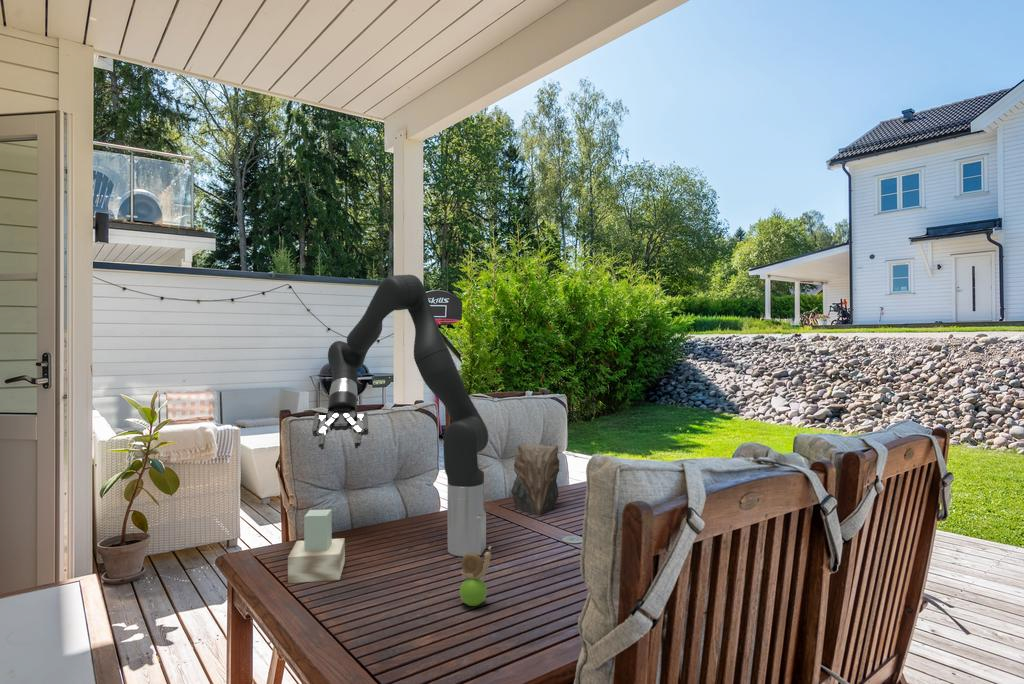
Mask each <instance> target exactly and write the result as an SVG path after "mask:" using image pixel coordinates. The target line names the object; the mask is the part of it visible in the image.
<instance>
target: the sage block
mask: <svg viewBox="0 0 1024 684" xmlns="http://www.w3.org/2000/svg"><path fill="white" fill-rule="evenodd" d="M332 515H333V513H332V509H309V510H308V511H307V513H306V514H305V515H304V516H303V517H304V518H303V519H304V520H303V525H304V526H303V527H304V528H303V531H304V535H303V536H304V538H303V539H304V552H311V551H327V550H328V549H329V547H330V545H331V544H332V539H333V538H332V537H333V535H332V534H333V533H332V531H333V530H332V526H333V525H332V519H333V518H332V517H333V516H332Z"/></svg>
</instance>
